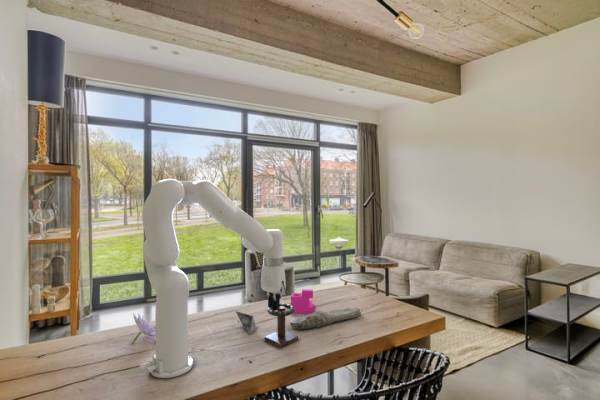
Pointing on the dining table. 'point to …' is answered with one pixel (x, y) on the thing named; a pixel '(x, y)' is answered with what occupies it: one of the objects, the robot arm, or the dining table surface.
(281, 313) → the hoop
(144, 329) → the water lily
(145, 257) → the robot arm
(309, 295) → the bracket
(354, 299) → the dining table surface
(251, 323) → the paper boat
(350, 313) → the long grey stone
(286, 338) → the peg stand
